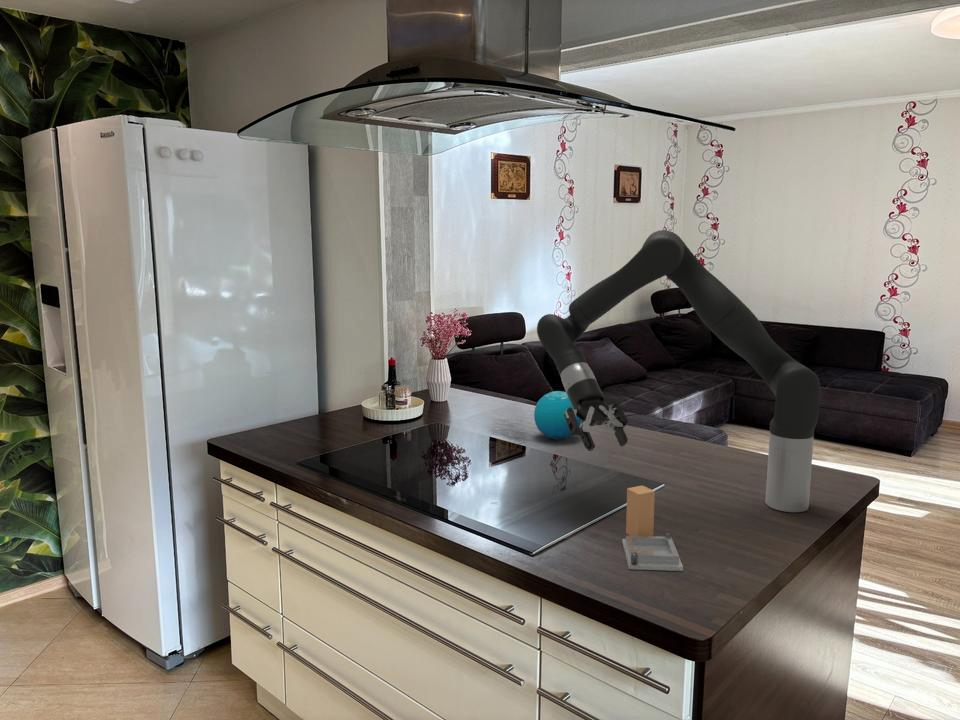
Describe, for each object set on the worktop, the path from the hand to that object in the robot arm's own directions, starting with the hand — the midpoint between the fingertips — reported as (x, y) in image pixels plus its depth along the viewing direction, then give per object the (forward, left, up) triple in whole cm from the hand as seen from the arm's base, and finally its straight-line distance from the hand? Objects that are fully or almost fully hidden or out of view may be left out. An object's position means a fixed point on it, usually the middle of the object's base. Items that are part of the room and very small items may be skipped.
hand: (608, 446), depth 156 cm
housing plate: (+20, +7, -16) cm, 27 cm away
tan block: (+10, +6, -16) cm, 20 cm away
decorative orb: (-62, -10, -16) cm, 65 cm away
